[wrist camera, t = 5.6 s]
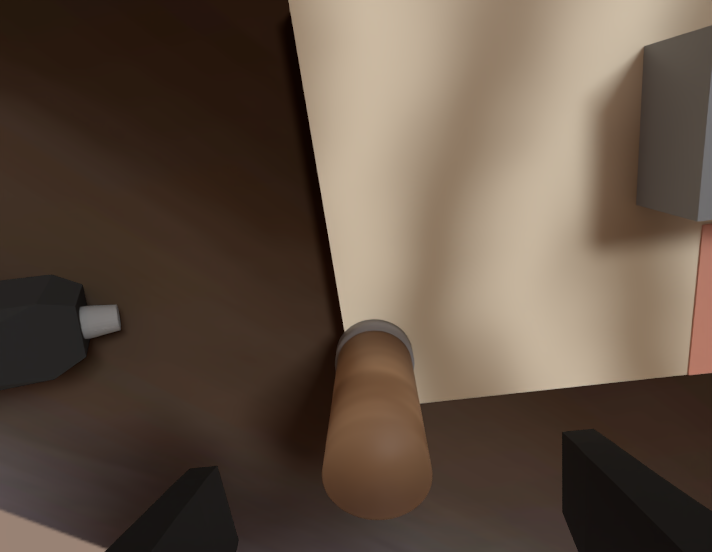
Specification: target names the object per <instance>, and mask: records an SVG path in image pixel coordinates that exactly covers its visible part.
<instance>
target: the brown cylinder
mask: <svg viewBox="0 0 712 552" xmlns="http://www.w3.org/2000/svg"><path fill="white" fill-rule="evenodd" d="M414 364H415V363H414V355H413V350H412V346H411V343H410V340H409V338H408V336H407V335H406V334H405V332H404V331H403V330H402V329H400V328H399V327H398V326H396V325H395V324H393V323H390V322H388V321H384V320H379V319H370V320H364V321H361V322H358V323H356V324H354V325H352V326H351V327H350V328H348V329H347V330H346V331H345V332H344V333H343V335H342V336H341V338H340V340H339V342H338V345H337V350H336V357H335V370H336V376H335V383H334V390H333V397H332V404H331V412H330V419H329V426H328V433H327V440H326V448H325V455H324V462H323V469H322V480H323V485H324V488H325V490H326V492H327V494H328V496H329V497H330V499H331V500H332V501H333V502H334V503H335V504H336V505H337V506H338V507H340V508H341V509H342V510H344V511H345V512H347V513H349V514H351V515H354V516H357V517H360V518H364V519H370V520H386V519H392V518H396V517H399V516H402V515H404V514H406V513H408V512H410V511H412V510H413V509H415V508H416V507H417V506H418V505H419V504H420V503H421V502H422V501H423V500H424V499H425V497H426V496H427V494H428V492H429V490H430V488H431V484H432V477H433V476H432V467H431V462H430V456H429V451H428V446H427V440H426V435H425V429H424V424H423V419H422V413H421V408H420V402H419V397H418V392H417V386H416V381H415V375H414Z"/></svg>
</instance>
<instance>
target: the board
mask: <svg viewBox="0 0 712 552" xmlns="http://www.w3.org/2000/svg"><path fill="white" fill-rule="evenodd" d="M289 6H290V12H291V18H292V24H293V30H294V36H295V42H296V48H297V54H298V60H299V66H300V71H301V77H302V83H303V89H304V95H305V101H306V107H307V113H308V119H309V125H310V131H311V137H312V142H313V148H314V154H315V160H316V166H317V172H318V178H319V184H320V190H321V196H322V202H323V208H324V214H325V219H326V225H327V231H328V237H329V243H330V249H331V255H332V261H333V267H334V273H335V279H336V285H337V290H338V296H339V302H340V308H341V314H342V320H343V326H344V332H345V331H346V330H347V329H348V328H350V327H351V326H352V325H354V324H356V323H358V322H361V321H364V320H370V319H379V320H384V321H388V322H390V323H393V324H395V325H396V326H398V327H399V328H400V329H402V330H403V331H404V332H405V334H406V335H407V336H408V338H409V340H410V343H411V346H412V350H413V355H414V363H415V364H414V375H415V381H416V386H417V392H418V397H419V402H420V403H428V402H438V401H447V400H456V399H465V398H475V397H484V396H493V395H502V394H512V393H521V392H530V391H539V390H549V389H558V388H567V387H576V386H586V385H595V384H604V383H613V382H623V381H632V380H641V379H650V378H660V377H669V376H678V375H687V374H688V365H689V355H690V345H691V334H692V324H693V314H694V304H695V293H696V283H697V273H698V262H699V252H700V242H701V232H702V225H704V224H712V220H707V221H699V222H697V221H693V220H689V219H686V218H682V217H678V216H675V215H671V214H668V213H664V212H660V211H657V210H653V209H649V208H646V207H642V206H638V205H636V197H637V177H638V157H639V136H640V116H641V96H642V76H643V56H644V46H646V45H649V44H653V43H656V42H659V41H662V40H665V39H669V38H672V37H675V36H678V35H682V34H685V33H688V32H691V31H694V30H698V29H701V28H704V27H707V26H711V25H712V0H289Z"/></svg>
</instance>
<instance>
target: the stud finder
mask: <svg viewBox="0 0 712 552" xmlns="http://www.w3.org/2000/svg"><path fill="white" fill-rule="evenodd" d="M636 205H638V206H642V207H646V208H649V209H653V210H657V211H660V212H664V213H668V214H671V215H675V216H678V217H682V218H686V219H689V220H693V221H697V222H699V221H707V220H712V25H711V26H707V27H704V28H701V29H698V30H694V31H691V32H688V33H685V34H682V35H678V36H675V37H672V38H669V39H665V40H662V41H659V42H656V43H653V44H649V45H646V46H644V56H643V76H642V96H641V116H640V136H639V157H638V177H637V197H636Z"/></svg>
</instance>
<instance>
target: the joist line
mask: <svg viewBox="0 0 712 552" xmlns="http://www.w3.org/2000/svg"><path fill="white" fill-rule="evenodd" d="M705 373H712V224H704V225H702V232H701V242H700V252H699V262H698V273H697V283H696V293H695V304H694V314H693V324H692V334H691V345H690V355H689V365H688V375H696V374H705Z"/></svg>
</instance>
